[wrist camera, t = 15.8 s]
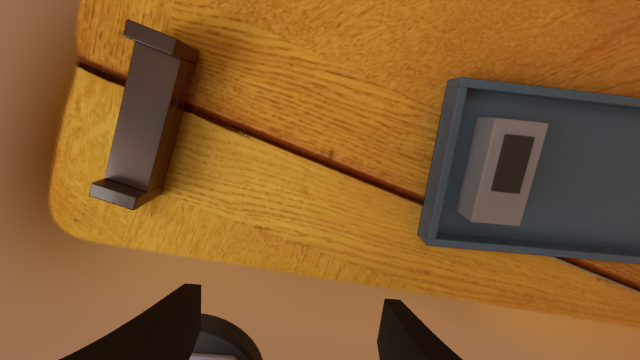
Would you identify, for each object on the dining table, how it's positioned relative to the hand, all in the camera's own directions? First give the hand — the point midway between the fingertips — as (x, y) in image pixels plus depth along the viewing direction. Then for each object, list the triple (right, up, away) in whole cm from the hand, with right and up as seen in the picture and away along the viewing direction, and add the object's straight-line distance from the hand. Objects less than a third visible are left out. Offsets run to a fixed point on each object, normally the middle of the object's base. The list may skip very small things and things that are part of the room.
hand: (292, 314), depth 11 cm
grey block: (+12, +6, +7) cm, 15 cm away
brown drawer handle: (-9, +9, +6) cm, 14 cm away
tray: (+21, +5, +8) cm, 23 cm away
